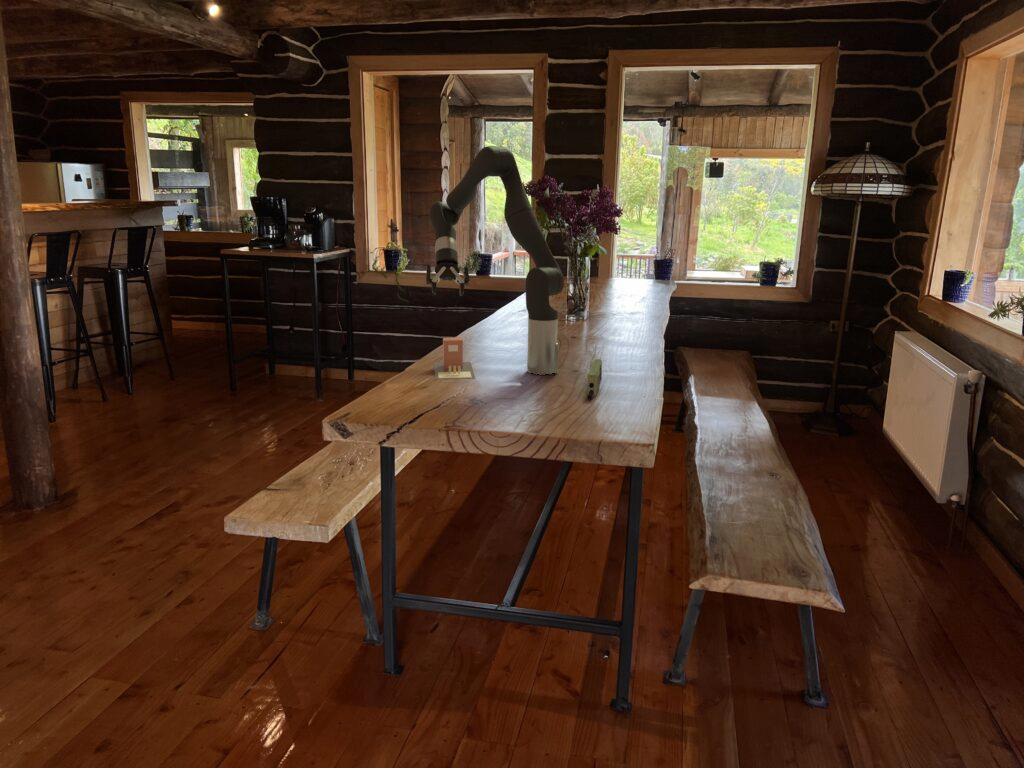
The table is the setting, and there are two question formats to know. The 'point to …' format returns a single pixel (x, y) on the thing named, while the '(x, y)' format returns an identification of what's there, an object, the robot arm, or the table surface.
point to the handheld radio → (594, 378)
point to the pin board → (453, 371)
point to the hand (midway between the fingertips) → (448, 294)
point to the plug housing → (452, 352)
